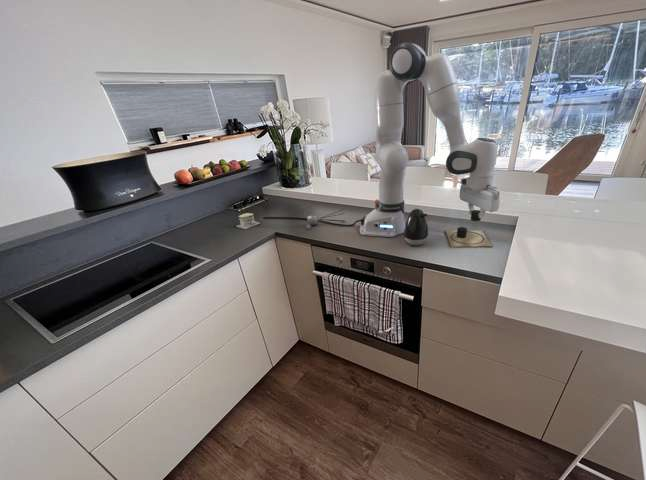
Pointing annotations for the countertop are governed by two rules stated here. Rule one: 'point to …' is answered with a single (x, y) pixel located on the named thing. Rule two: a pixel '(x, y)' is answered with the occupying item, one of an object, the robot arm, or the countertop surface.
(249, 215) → the stacked layers on plate
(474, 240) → the sketch board
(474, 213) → the dot right
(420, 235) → the pump dispenser
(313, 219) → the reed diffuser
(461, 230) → the black ribbed knob
